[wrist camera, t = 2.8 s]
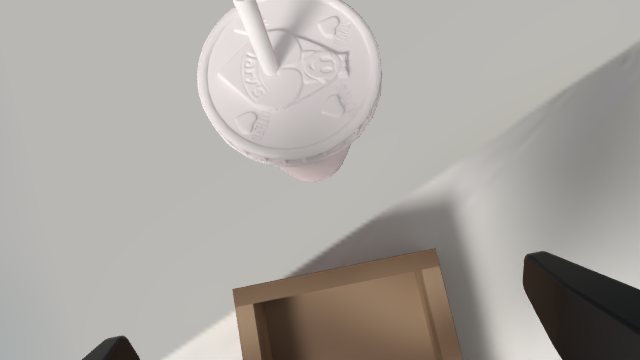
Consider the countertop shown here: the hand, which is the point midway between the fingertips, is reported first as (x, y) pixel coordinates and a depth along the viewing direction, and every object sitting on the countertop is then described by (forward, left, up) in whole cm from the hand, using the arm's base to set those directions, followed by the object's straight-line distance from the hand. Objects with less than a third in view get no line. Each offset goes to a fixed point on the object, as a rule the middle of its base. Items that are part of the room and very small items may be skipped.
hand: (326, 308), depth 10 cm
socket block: (-2, +2, -13) cm, 14 cm away
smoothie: (+6, -5, -14) cm, 16 cm away
